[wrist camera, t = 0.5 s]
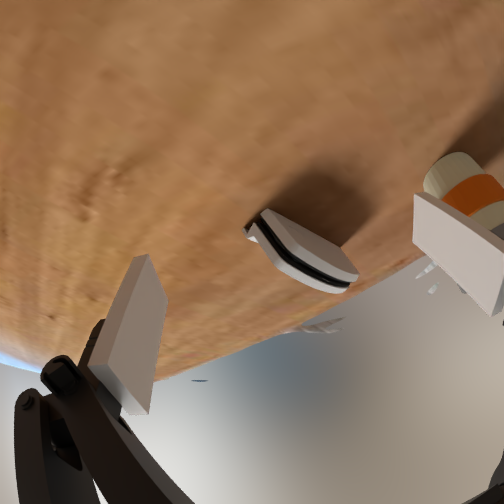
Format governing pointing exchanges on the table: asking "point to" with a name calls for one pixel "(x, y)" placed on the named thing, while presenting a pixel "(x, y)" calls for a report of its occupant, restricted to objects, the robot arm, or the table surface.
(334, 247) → the white and black console
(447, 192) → the reusable coffee cup
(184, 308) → the table surface
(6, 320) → the table surface
